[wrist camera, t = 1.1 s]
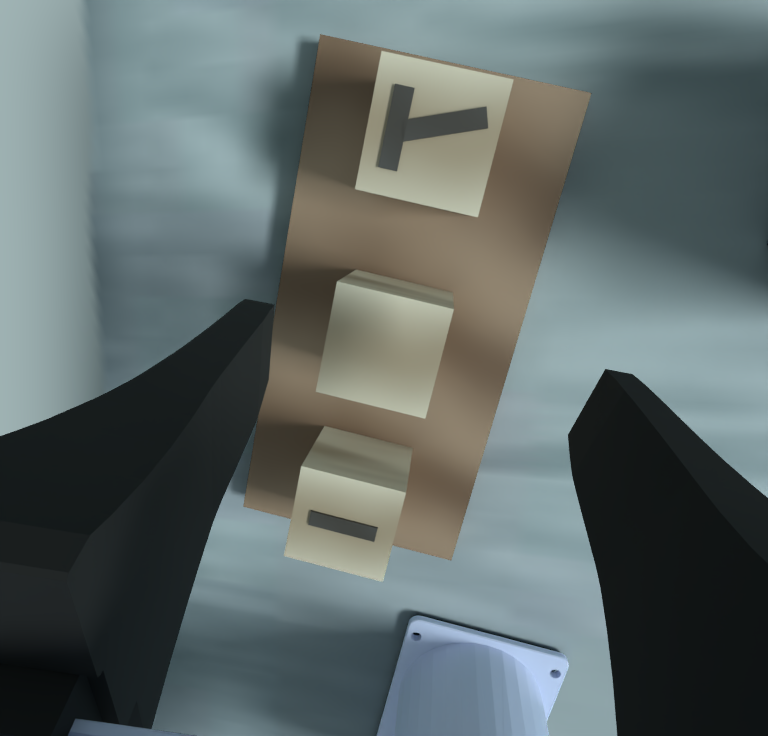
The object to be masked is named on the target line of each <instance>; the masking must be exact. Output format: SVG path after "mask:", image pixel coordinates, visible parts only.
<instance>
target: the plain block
mask: <svg viewBox="0 0 768 736" xmlns="http://www.w3.org/2000/svg"><path fill="white" fill-rule="evenodd" d="M453 311H454V303H453V292H449V291H445V290H441V289H436V288H432V287H428V286H424V285H419V284H415V283H411V282H407V281H403V280H398V279H394V278H390V277H386V276H381V275H377V274H373V273H369V272H364V271H360V270H355V271H353V272H351V273H350V274H348V275H347V276H345V277H343V278H342V279H340V280H338V281H337V284H336V289H335V294H334V300H333V305H332V310H331V315H330V320H329V325H328V331H327V336H326V341H325V346H324V351H323V356H322V362H321V367H320V372H319V377H318V382H317V387H316V392H319V393H323V394H327V395H331V396H335V397H339V398H343V399H348V400H352V401H356V402H360V403H364V404H368V405H372V406H376V407H380V408H384V409H388V410H392V411H396V412H400V413H404V414H408V415H412V416H416V417H420V418H424V419H425V418H426V414H427V411H428V407H429V403H430V399H431V395H432V391H433V388H434V384H435V380H436V376H437V372H438V368H439V365H440V361H441V357H442V353H443V349H444V345H445V342H446V338H447V334H448V330H449V326H450V322H451V318H452V315H453Z"/></svg>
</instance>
